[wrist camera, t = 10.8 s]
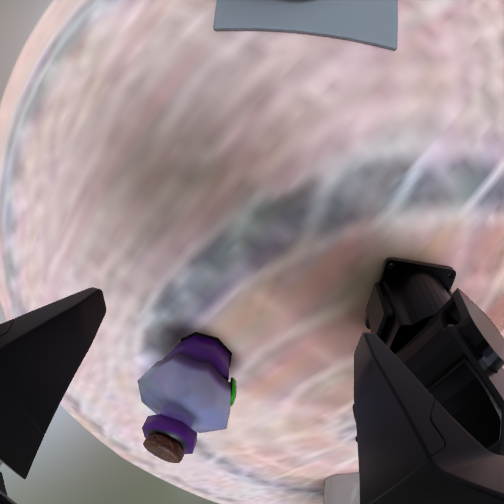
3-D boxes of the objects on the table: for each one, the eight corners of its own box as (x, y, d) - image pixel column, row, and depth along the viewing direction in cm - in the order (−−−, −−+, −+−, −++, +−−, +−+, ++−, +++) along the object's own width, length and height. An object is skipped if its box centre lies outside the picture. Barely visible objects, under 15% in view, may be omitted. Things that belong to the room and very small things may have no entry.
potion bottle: (256, 381, 29) (231, 484, 18) (183, 380, 31) (143, 467, 20) (235, 317, 26) (190, 433, 15) (152, 321, 28) (90, 413, 17)
